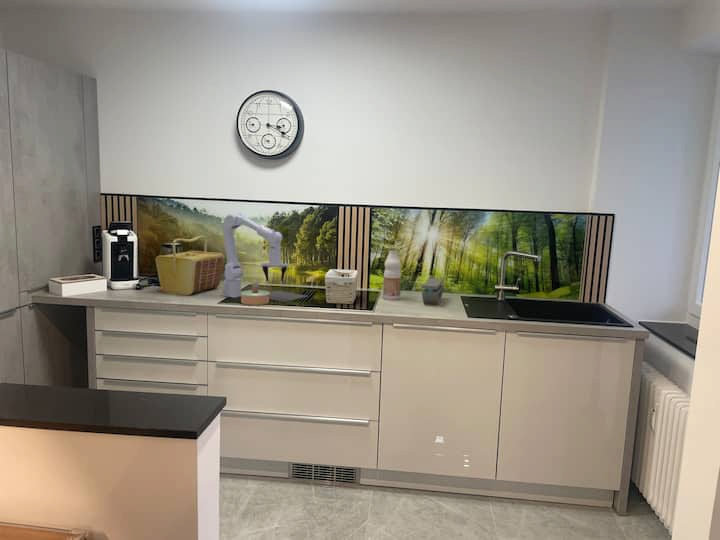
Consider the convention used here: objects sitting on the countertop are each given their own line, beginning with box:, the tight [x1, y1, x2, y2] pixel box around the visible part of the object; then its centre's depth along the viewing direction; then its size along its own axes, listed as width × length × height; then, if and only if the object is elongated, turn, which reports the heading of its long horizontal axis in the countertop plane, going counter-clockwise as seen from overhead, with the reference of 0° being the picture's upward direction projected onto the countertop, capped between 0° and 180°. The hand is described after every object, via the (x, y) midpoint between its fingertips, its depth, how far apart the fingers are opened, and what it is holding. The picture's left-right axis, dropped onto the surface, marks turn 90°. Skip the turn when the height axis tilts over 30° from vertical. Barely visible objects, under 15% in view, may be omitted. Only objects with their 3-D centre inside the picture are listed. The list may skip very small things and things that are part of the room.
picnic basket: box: [155, 235, 225, 296], centre depth 320 cm, size 29×26×30 cm
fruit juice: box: [382, 247, 402, 301], centre depth 314 cm, size 9×9×28 cm
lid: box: [240, 282, 271, 297], centre depth 295 cm, size 15×15×6 cm
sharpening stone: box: [421, 277, 445, 306], centre depth 310 cm, size 25×8×11 cm, turn 164°
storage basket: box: [324, 268, 359, 305], centre depth 308 cm, size 24×16×15 cm
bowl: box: [240, 295, 270, 306], centre depth 296 cm, size 14×14×4 cm
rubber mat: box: [269, 290, 309, 304], centre depth 311 cm, size 22×20×1 cm
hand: (274, 281), depth 301 cm, fingers open, 7 cm apart
